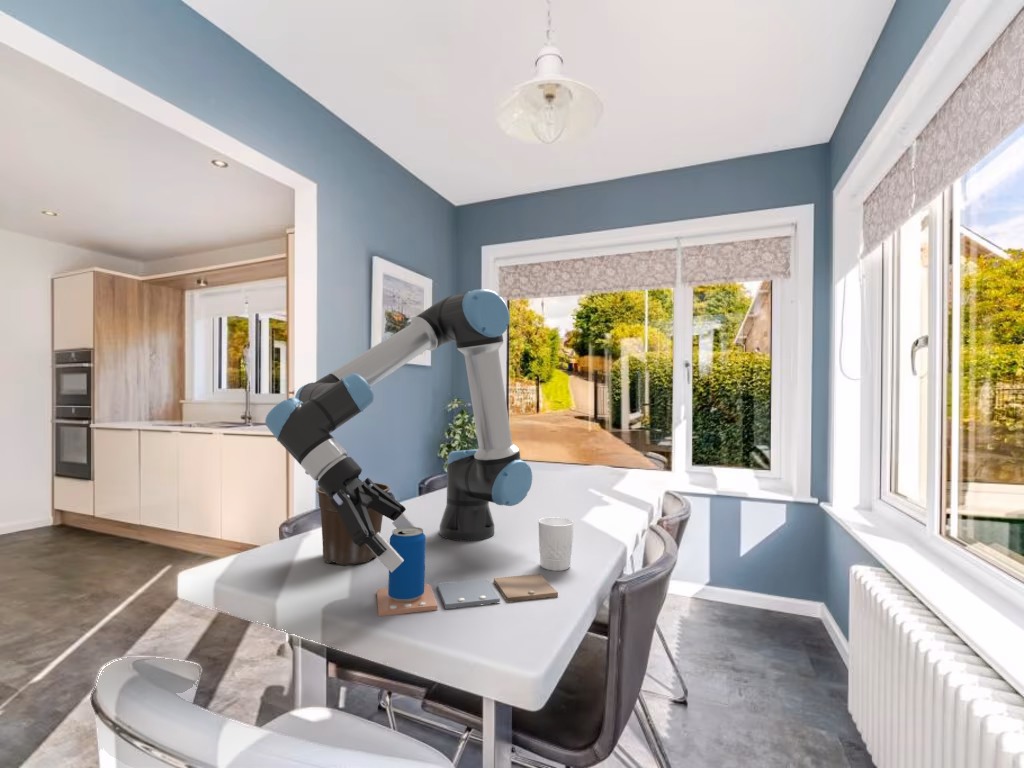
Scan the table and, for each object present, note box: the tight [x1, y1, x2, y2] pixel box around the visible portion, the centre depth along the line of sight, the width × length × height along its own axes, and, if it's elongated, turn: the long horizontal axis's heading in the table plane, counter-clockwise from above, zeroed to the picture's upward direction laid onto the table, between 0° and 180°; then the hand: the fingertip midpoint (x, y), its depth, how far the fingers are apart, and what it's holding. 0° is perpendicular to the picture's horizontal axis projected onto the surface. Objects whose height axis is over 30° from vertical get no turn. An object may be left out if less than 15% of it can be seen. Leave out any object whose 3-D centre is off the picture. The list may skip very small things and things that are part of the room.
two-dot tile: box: [436, 578, 501, 610], centre depth 92 cm, size 10×10×1 cm
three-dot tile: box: [376, 583, 438, 617], centre depth 89 cm, size 10×10×1 cm
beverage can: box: [387, 526, 427, 602], centre depth 89 cm, size 6×6×12 cm
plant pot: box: [315, 482, 391, 566], centre depth 113 cm, size 16×16×16 cm
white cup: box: [538, 516, 574, 572], centre depth 110 cm, size 8×8×10 cm
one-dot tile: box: [493, 573, 559, 602], centre depth 96 cm, size 10×10×1 cm
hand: (409, 553), depth 89 cm, fingers open, 13 cm apart
